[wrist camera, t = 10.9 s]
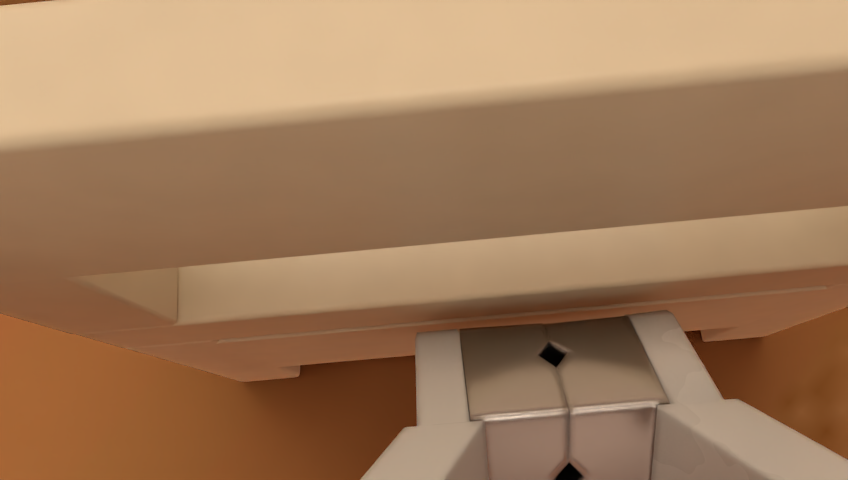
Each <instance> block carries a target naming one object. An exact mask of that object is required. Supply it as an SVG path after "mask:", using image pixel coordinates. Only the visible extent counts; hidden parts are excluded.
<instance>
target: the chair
mask: <svg viewBox="0 0 848 480" xmlns="http://www.w3.org/2000/svg"><path fill="white" fill-rule="evenodd" d="M846 307H848V0H52V1H43V2H33V3H23V4H13V5H3V6H0V314H4V315H7V316H11V317H14V318H18V319H21V320H25V321H28V322H32V323H35V324H39V325H42V326H46V327H49V328H53V329H56V330H60V331H63V332H67V333H70V334H77V335H80V336H83V337H87V338H90V339H94V340H97V341H101V342H104V343H108V344H111V345H114V346H118V347H121V348H127V349H130V350H133V351H137V352H140V353H144V354H147V355H150V356H154V357H157V358H161V359H164V360H168V361H171V362H175V363H178V364H182V365H185V366H188V367H192V368H195V369H199V370H202V371H206V372H209V373H213V374H216V375H219V376H223V377H226V378H230V379H233V380H237V381H240V382H250V381H261V380H273V379H284V378H295V377H298V376H299V374H300V365H309V364H320V363H332V362H343V361H354V360H366V359H377V358H389V357H400V356H411V355H415V337H416V334H417V332H427V331H438V330H450V329H457V330H458V332H459V329H463V328H477V327H492V326H507V325H522V324H536V323H542V324H547V323H557V322H567V321H577V320H588V319H598V318H608V317H618V316H624V315H626V314H634V313H643V312H651V311H659V310H668V311H669V312H671V313H673V314H674V316H675V318H676V319H677V321H678V323H679V324H680V326H681V328H682V329H683V331H696V330H700V331H701V336H702V340H703V341H705V342H709V341H720V340H732V339H743V338H755V337H765V336H767V335H770V334H773V333H776V332H779V331H781V330H784V329H787V328H790V327H793V326H795V325H798V324H801V323H804V322H807V321H809V320H812V319H815V318H818V317H821V316H823V315H826V314H829V313H832V312H834V311H837V310H840V309H843V308H846ZM459 336H460V332H459Z"/></svg>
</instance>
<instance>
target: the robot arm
mask: <svg viewBox="0 0 848 480" xmlns="http://www.w3.org/2000/svg"><path fill="white" fill-rule="evenodd" d="M459 332H460V336H459ZM459 332H458V330H457V329H450V330H438V331H427V332H417V334H416V337H415V363H416V407H417V426H413V427H405V428H403V429H402V430H401V432H400V433H399V434H398V435H397V436H396V438H395V439H394V440H393V441H392V442H391V443H390V445H389V446H388V447H387V448H386V449H385V451H384V452H383V453H382V454H381V455H380V457H379V458H378V459H377V460H376V461H375V462H374V464H373V465H372V466H371V467H370V468H369V470H368V471H367V472H366V473H365V474H364V475H363V477H362V478H361V479H360V480H848V459H846V458H844V457H842V456H840V455H838V454H837V453H835V452H833V451H831V450H829V449H828V448H826V447H824V446H822V445H820V444H819V443H817V442H815V441H813V440H811V439H810V438H808V437H806V436H804V435H802V434H801V433H799V432H797V431H795V430H793V429H792V428H790V427H788V426H786V425H784V424H783V423H781V422H779V421H777V420H775V419H774V418H772V417H770V416H768V415H766V414H765V413H763V412H761V411H759V410H757V409H756V408H754V407H752V406H750V405H748V404H747V403H745V402H743V401H741V400H739V399H726V400H724V398H723V397H722V395H721V393H720V392H719V390H718V388H717V387H716V385H715V383H714V382H713V380H712V378H711V376H710V375H709V373H708V371H707V370H706V368H705V366H704V365H703V363H702V361H701V360H700V358H699V356H698V355H697V353H696V351H695V350H694V348H693V346H692V345H691V343H690V341H689V340H688V338H687V336H686V334H685V333H684V331H683V329H682V328H681V326H680V324H679V323H678V321H677V319H676V318H675V316H674V314H673V313H671V312H669V311H668V310H659V311H651V312H643V313H634V314H626V315H624V316H618V317H608V318H598V319H588V320H577V321H567V322H557V323H547V324H542V323H536V324H522V325H507V326H492V327H477V328H463V329H459Z"/></svg>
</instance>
